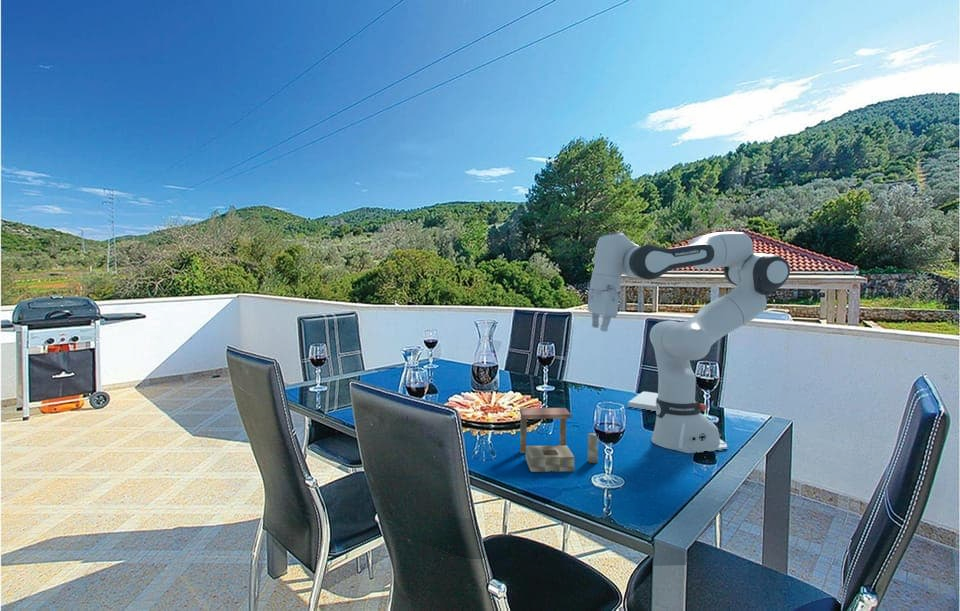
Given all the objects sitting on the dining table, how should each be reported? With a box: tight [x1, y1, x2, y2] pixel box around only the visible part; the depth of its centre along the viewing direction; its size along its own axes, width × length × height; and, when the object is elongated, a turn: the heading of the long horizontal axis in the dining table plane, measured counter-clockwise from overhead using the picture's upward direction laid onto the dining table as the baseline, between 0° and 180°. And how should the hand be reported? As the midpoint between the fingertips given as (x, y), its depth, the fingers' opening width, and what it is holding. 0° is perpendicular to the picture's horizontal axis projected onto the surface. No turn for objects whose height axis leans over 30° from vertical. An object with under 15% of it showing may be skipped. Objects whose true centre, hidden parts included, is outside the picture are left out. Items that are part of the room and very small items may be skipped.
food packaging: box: [627, 391, 658, 412], centre depth 203 cm, size 15×3×20 cm
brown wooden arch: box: [519, 407, 572, 454], centre depth 145 cm, size 14×7×13 cm, turn 93°
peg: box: [587, 432, 599, 464], centre depth 140 cm, size 3×3×8 cm
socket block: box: [525, 445, 575, 473], centre depth 138 cm, size 12×9×4 cm
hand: (599, 329), depth 151 cm, fingers open, 8 cm apart
